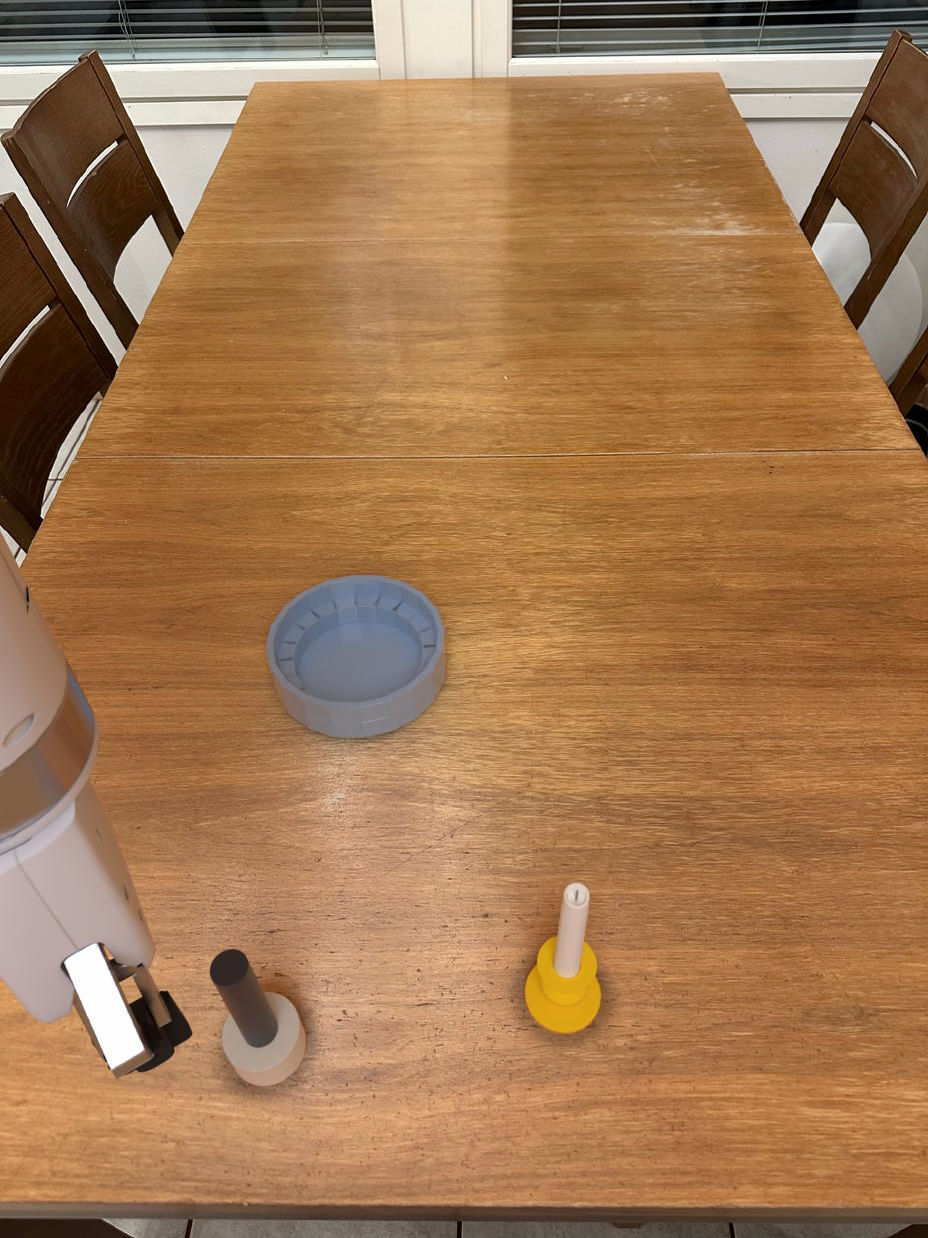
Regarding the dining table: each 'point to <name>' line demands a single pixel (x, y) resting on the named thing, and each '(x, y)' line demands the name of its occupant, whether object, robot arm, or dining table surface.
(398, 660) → the bowl
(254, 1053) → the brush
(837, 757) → the dining table surface
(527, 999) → the candle
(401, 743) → the dining table surface
